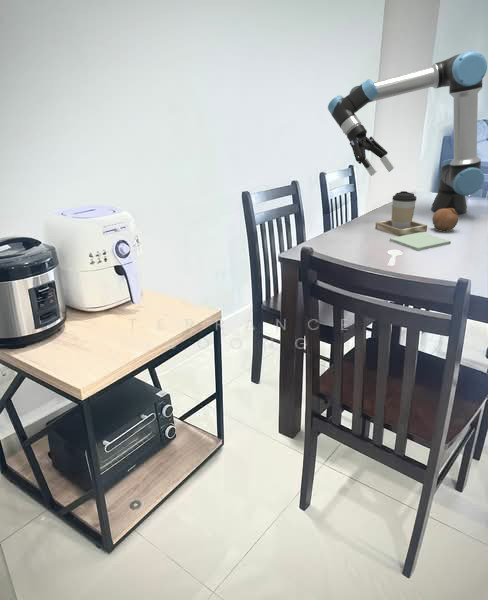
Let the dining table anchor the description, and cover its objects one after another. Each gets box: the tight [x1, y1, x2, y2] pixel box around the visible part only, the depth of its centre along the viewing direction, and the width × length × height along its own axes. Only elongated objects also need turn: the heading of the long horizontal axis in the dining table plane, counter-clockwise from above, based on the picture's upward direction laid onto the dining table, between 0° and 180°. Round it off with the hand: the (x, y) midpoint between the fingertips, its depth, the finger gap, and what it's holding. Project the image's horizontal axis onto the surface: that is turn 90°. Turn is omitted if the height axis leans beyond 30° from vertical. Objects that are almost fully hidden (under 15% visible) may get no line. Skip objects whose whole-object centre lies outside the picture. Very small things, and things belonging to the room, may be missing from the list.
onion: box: [431, 208, 459, 232], centre depth 175 cm, size 10×9×10 cm
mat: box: [389, 232, 452, 252], centre depth 163 cm, size 16×14×1 cm
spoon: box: [386, 248, 404, 267], centre depth 149 cm, size 5×18×1 cm, turn 157°
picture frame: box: [375, 219, 428, 237], centre depth 178 cm, size 14×14×2 cm
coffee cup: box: [391, 190, 417, 229], centre depth 175 cm, size 9×9×15 cm
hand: (383, 171), depth 176 cm, fingers open, 13 cm apart
